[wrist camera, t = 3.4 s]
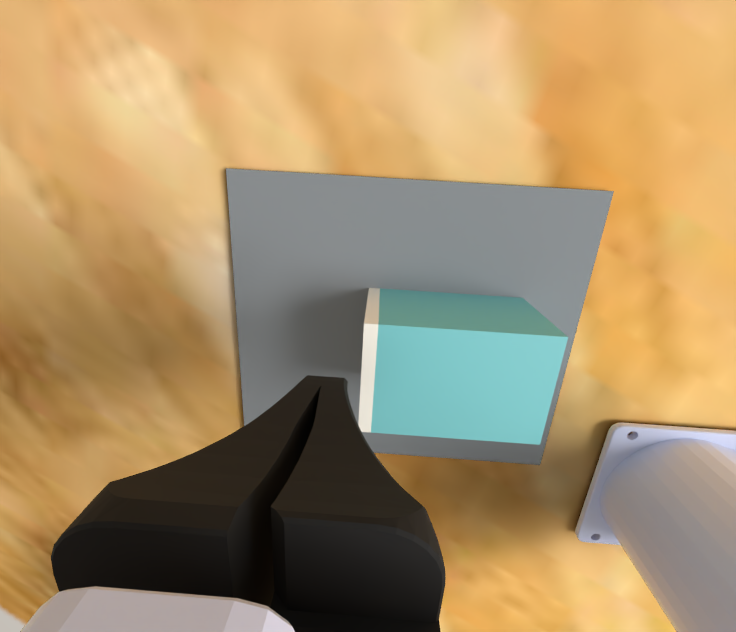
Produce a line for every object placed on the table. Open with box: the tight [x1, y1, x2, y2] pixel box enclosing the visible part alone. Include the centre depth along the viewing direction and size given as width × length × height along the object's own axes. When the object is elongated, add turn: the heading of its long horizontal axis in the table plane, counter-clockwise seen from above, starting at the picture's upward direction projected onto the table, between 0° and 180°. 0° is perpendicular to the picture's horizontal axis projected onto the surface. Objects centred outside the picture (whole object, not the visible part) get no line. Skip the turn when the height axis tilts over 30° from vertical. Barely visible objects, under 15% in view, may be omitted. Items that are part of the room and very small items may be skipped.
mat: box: [226, 168, 614, 465], centre depth 18 cm, size 16×14×1 cm
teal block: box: [358, 288, 568, 445], centre depth 16 cm, size 4×4×7 cm
